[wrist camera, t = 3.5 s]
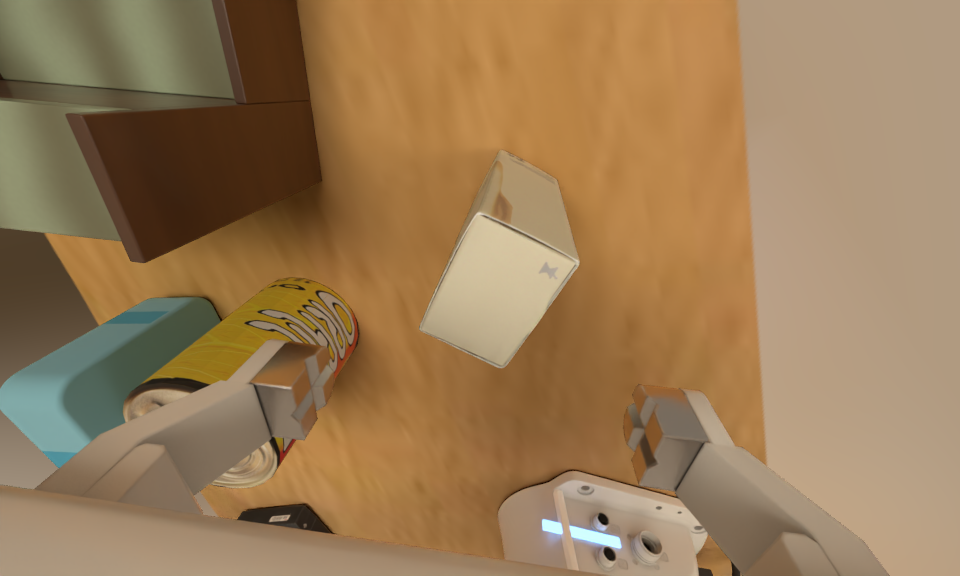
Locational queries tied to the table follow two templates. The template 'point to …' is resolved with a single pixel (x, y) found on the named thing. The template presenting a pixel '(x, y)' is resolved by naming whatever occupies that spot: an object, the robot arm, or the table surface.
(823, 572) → the robot arm
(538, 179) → the cosmetic box
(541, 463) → the table surface
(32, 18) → the step shelf
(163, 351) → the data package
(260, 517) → the disk drive
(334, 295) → the beverage can
